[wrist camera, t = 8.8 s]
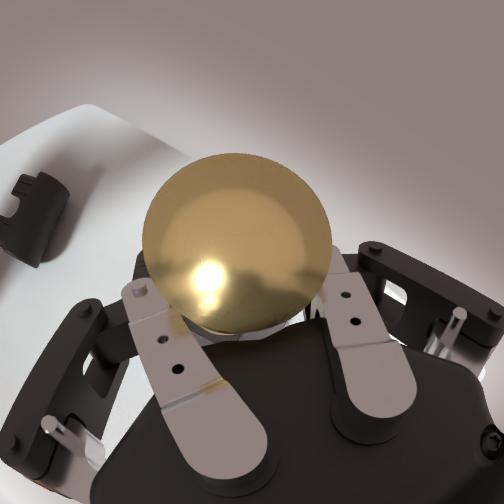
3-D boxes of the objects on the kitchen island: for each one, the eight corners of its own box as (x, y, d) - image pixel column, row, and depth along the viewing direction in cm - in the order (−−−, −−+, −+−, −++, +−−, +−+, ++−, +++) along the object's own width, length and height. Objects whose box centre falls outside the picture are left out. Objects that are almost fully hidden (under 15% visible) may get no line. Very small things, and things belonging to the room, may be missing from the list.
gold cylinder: (174, 313, 16) (107, 270, 5) (208, 252, 17) (204, 131, 7) (240, 347, 16) (287, 366, 5) (271, 284, 17) (352, 202, 7)
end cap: (48, 274, 26) (17, 259, 20) (15, 256, 26) (-14, 240, 20) (79, 202, 30) (56, 175, 23) (45, 191, 29) (22, 166, 23)
